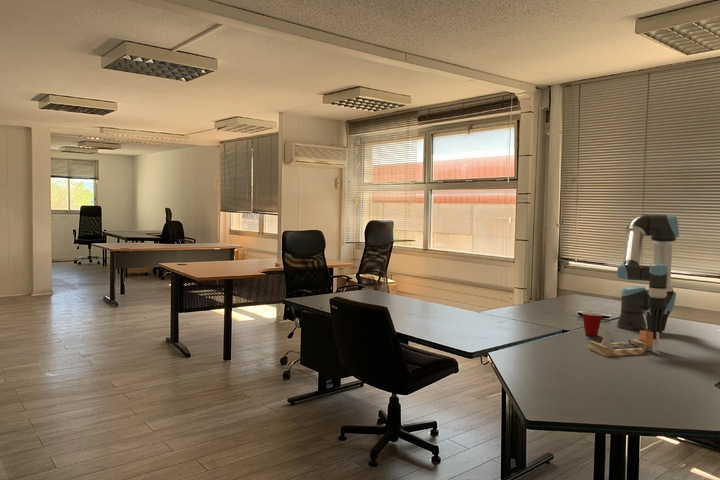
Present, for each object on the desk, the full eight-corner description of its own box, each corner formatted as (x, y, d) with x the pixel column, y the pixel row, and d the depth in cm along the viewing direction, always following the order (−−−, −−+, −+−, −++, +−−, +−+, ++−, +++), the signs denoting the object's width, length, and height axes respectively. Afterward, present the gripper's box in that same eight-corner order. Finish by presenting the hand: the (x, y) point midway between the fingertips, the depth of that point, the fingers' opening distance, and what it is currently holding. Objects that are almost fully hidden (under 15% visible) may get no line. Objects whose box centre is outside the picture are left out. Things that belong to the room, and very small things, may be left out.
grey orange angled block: (646, 348, 261) (647, 330, 260) (652, 350, 257) (653, 332, 256) (609, 350, 256) (610, 331, 256) (615, 352, 252) (616, 333, 252)
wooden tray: (630, 347, 264) (630, 337, 263) (649, 354, 251) (649, 344, 251) (588, 349, 259) (588, 339, 258) (605, 356, 246) (605, 346, 246)
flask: (617, 354, 249) (618, 333, 249) (600, 354, 250) (601, 332, 250) (611, 350, 257) (612, 329, 256) (595, 349, 257) (596, 329, 257)
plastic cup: (604, 334, 289) (605, 312, 289) (600, 338, 280) (601, 315, 280) (582, 331, 295) (583, 309, 295) (578, 335, 286) (579, 312, 286)
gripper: (662, 294, 263) (661, 343, 264) (640, 295, 260) (638, 344, 261) (675, 297, 255) (673, 347, 257) (651, 298, 253) (649, 348, 254)
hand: (655, 345), depth 259 cm, fingers closed
